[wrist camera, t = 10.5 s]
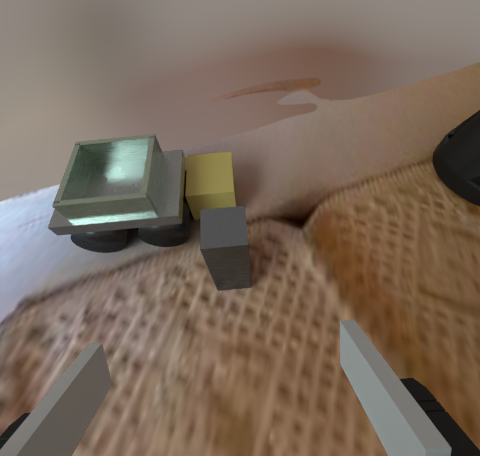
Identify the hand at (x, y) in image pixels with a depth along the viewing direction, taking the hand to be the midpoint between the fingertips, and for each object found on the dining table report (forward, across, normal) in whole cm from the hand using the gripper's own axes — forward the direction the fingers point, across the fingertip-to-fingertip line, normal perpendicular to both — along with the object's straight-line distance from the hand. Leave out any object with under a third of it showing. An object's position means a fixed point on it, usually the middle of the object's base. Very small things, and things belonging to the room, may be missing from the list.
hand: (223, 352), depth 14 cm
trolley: (+24, +12, -4) cm, 27 cm away
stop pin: (+17, 0, +3) cm, 18 cm away
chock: (+26, +2, -5) cm, 27 cm away
